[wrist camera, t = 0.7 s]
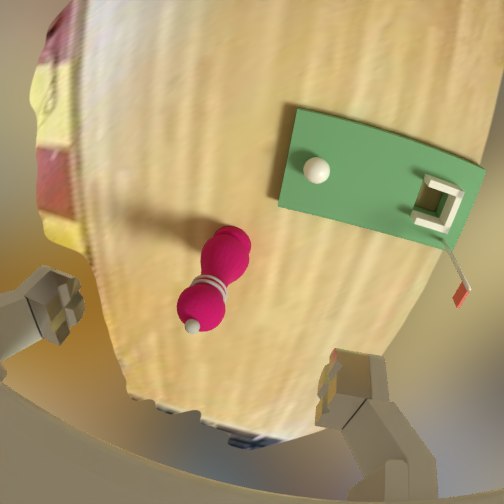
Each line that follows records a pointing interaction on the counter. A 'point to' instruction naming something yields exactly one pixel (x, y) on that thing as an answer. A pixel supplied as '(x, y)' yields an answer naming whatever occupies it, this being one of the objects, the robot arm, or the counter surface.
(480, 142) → the counter surface
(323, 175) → the ball
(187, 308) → the pepper mill
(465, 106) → the counter surface
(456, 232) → the green
